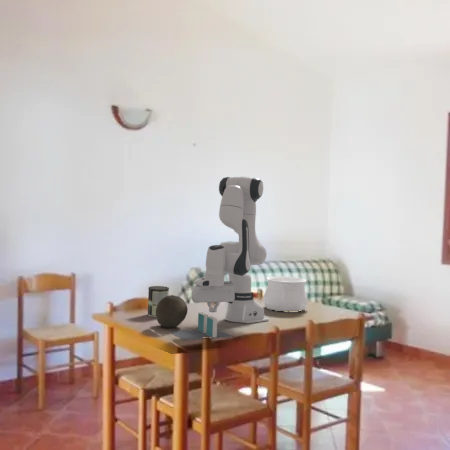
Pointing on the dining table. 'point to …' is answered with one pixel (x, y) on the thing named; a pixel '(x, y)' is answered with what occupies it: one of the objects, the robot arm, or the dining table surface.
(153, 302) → the coffee can
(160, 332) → the dining table surface
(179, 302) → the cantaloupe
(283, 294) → the pot
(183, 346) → the dining table surface
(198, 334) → the mat
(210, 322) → the tile
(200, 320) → the tile
